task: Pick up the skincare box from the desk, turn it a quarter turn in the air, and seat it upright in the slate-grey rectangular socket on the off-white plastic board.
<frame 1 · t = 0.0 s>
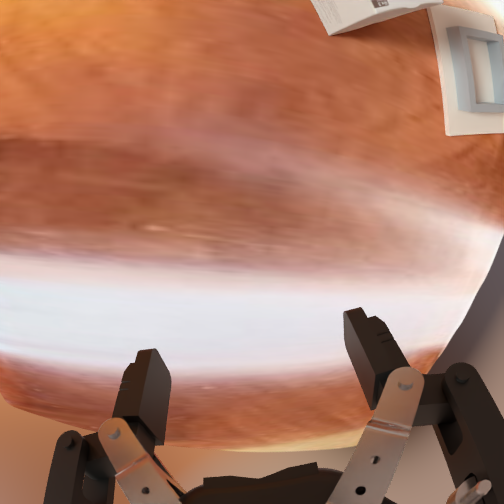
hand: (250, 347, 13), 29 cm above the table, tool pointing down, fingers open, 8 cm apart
socket board: (472, 70, 33), on the table
skincare box: (344, 11, 30), on the table
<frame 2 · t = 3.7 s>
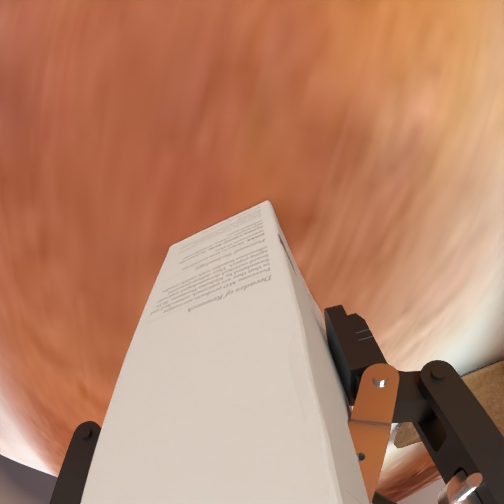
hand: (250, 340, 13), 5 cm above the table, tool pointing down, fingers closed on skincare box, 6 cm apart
tan flared vase: (462, 383, 26), on the table
skincare box: (246, 278, 18), on the table, touching gripper
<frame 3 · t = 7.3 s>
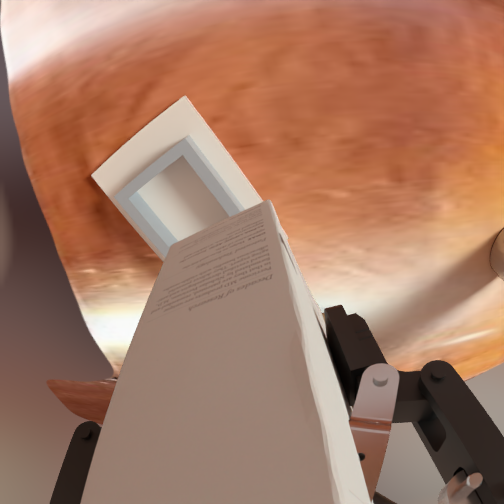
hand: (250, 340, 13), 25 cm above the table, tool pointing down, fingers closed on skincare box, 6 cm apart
socket board: (189, 202, 36), on the table
skincare box: (246, 277, 18), point 20 cm above the table, touching gripper
when the fingers open (8 cm above the table, at t = 11.0 s): skincare box stays where it is, resting on socket board.
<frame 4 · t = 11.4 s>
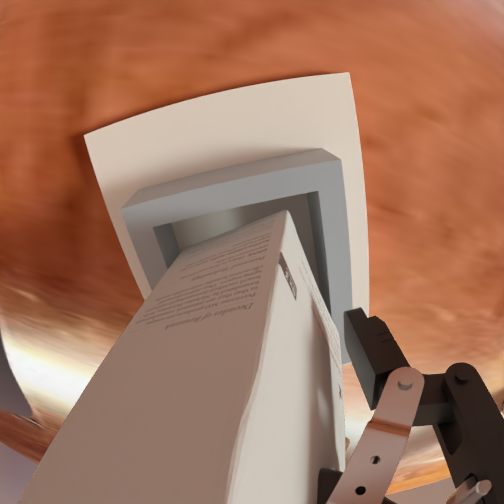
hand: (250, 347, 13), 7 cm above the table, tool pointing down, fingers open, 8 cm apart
socket board: (251, 262, 19), on the table
skincare box: (261, 289, 17), point 3 cm above the table, touching gripper, socket board
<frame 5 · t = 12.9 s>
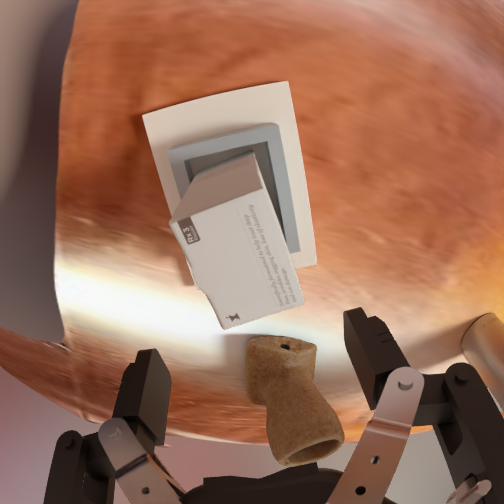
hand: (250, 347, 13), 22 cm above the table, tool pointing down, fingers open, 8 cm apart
tan flared vase: (285, 365, 45), on the table
socket board: (236, 190, 32), on the table
skincare box: (236, 193, 32), point 1 cm above the table, touching socket board
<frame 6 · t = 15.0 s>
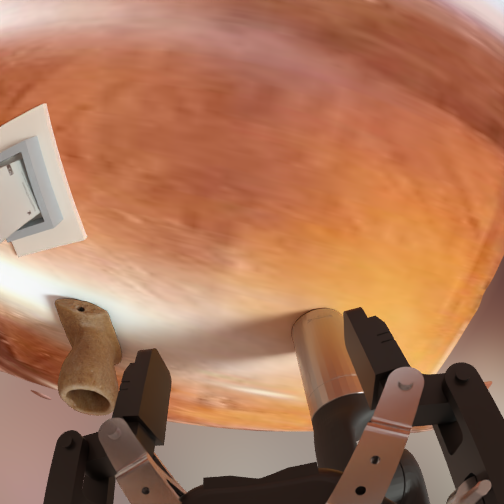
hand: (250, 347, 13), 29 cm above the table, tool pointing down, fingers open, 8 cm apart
tan flared vase: (98, 329, 50), on the table
socket board: (28, 185, 37), on the table
skincare box: (25, 187, 36), point 1 cm above the table, touching socket board
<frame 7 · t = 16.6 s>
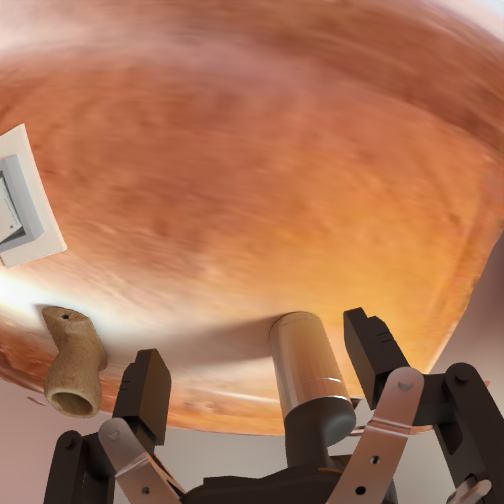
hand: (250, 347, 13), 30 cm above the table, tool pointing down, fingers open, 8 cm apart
tan flared vase: (84, 336, 51), on the table
socket board: (12, 200, 38), on the table
skincare box: (9, 202, 37), point 1 cm above the table, touching socket board
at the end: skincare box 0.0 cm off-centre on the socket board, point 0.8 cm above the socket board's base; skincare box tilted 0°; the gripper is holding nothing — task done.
